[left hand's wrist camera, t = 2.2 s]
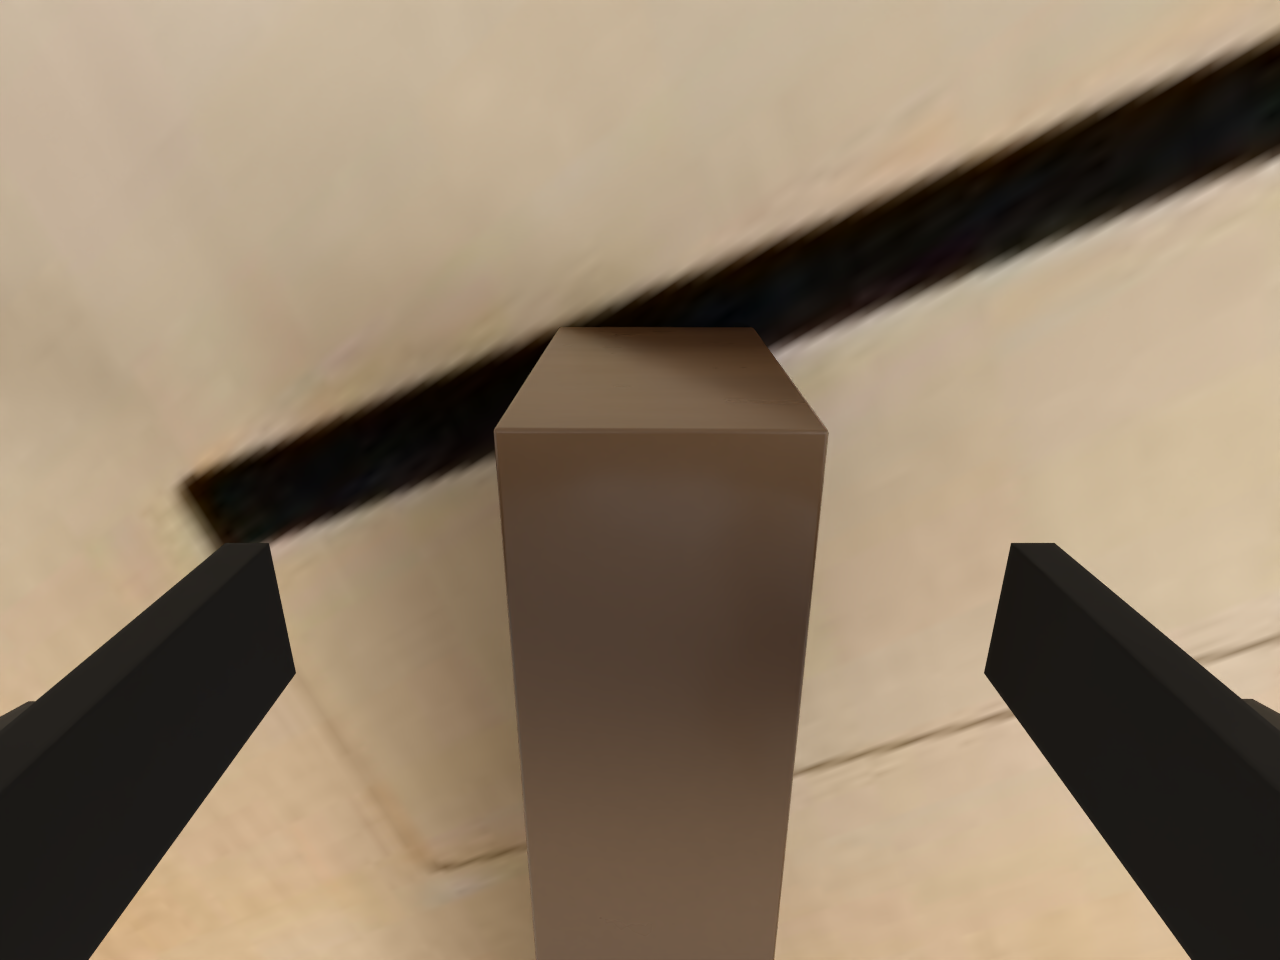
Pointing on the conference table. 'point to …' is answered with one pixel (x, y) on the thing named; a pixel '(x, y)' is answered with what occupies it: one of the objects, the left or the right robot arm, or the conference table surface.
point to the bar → (658, 635)
